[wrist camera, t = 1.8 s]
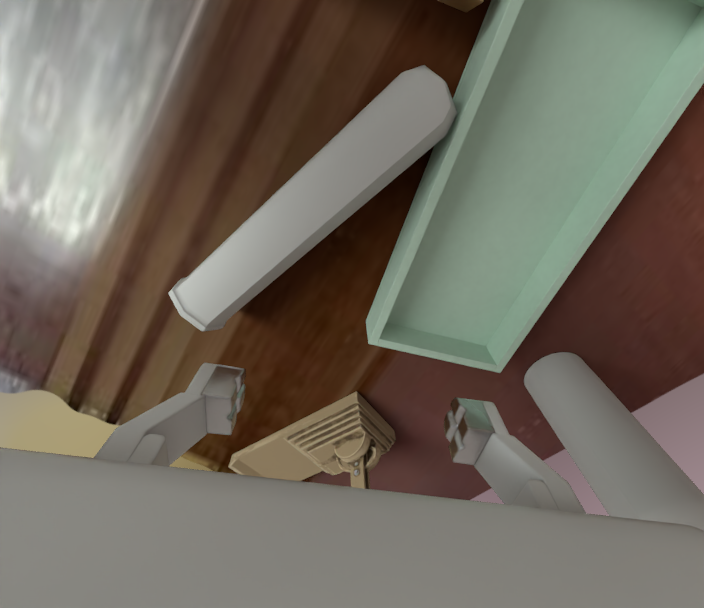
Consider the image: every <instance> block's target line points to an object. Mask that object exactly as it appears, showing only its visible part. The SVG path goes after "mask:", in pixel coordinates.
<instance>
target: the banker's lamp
mask: <svg viewBox="0 0 704 608" xmlns="http://www.w3.org/2000/svg"><path fill="white" fill-rule="evenodd" d="M395 441H396V438H395V432H394V430H393V429H392V428H391V426H390V425H389V424H388V423H387V422H386V421H385V420H384V419H383V418H382V417H381V416H380V415H379V414H378V413H377V412H376V411H375V410H374V409H373V408H372V407H371V406H370V405H369V403H368V402H367V401H366V400H365V399H364V398H363V397H362V396H361V395H360V394H359V393H358V392H357V391H356V392H354V393H352V394H350V395H348V396H346V397H344V398H342V399H341V400H339V401H337V402H335V403H333V404H331V405H329V406H327V407H325V408H323V409H321V410H319V411H317V412H315V413H313V414H311V415H309V416H307V417H305V418H303V419H301V420H299V421H297V422H295V423H293V424H291V425H289V426H287V427H285V428H284V429H282V430H280V431H278V432H276V433H274V434H272V435H270V436H268V437H266V438H264V439H262V440H260V441H258V442H256V443H254V444H252V445H250V446H248V447H246V448H244V449H242V450H240V451H238V452H236V453H234V454H232V457H231V461H230V464H229V468H230V469H232V470H233V471H235V472H236V473H238V474H240V475H248V476H257V477H266V478H275V479H284V480H293V481H301V480H303V479H306V478H308V477H310V476H312V475H315V474H317V473H319V472H321V471H324V472H327V473H330V474H331V475H336V474H339V473H341V472H343V471H345V472H351V487H355V488H364V489H370V480H369V471H370V470H372V469H373V468H374V467H375V466H376V464H377V463H378V461H379V459H380V456H381V455H382V454H384V453H387V451H389V450H390V449H389V448H390V447H391V445H392V444H394V442H395ZM350 468H351V469H350Z"/></svg>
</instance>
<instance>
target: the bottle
mask: <svg viewBox="0 0 704 608" xmlns="http://www.w3.org/2000/svg"><path fill="white" fill-rule="evenodd" d="M524 384H525V387H526V388H527V390H528V391H529V393H530V394H531V396H532V398H533V399H534V401H535V402H536V404H537V406H538V407H539V409H540V410H541V412H542V413H543V415H544V416H545V418H546V419H547V421H548V422H549V424H550V425H551V427H552V429H553V430H554V432H555V433H556V435H557V436H558V438H559V439H560V441H561V442H562V444H563V445H564V447H565V448H566V450H567V451H568V453H569V455H570V456H571V458H572V459H573V461H574V462H575V464H576V465H577V467H578V468H579V470H580V471H581V473H582V474H583V476H584V477H585V479H586V480H587V482H588V484H589V485H590V487H591V488H592V490H593V491H594V493H595V494H596V496H597V497H598V499H599V500H600V502H601V504H602V505H603V507H604V508H605V510H606V511H607V513H608V514H609V516H613V517H622V518H631V519H639V520H648V521H657V522H667V523H677V524H684V525H690V526H693V527H697V528H699V529H701V530H703V531H704V494H703V493H702V492H701V491H700V490H699V489H698V487H697V486H696V485H695V484H694V483H693V482H692V481H691V480H690V479H689V477H688V476H687V475H686V474H685V473H684V472H683V471H682V470H681V469H680V468H679V466H678V465H677V464H676V463H675V462H674V461H673V460H672V459H671V458H670V456H669V455H668V454H667V453H666V452H665V451H664V450H663V449H662V448H661V446H660V445H659V444H658V443H657V442H656V441H655V440H654V438H652V436H651V435H650V434H649V433H648V432H647V431H646V430H645V428H644V427H643V426H642V425H641V424H640V423H639V422H638V421H637V420H636V419H635V417H634V416H633V415H632V414H631V413H630V412H629V411H628V409H627V408H626V407H625V406H624V405H623V404H622V403H621V402H620V401H619V399H618V398H617V397H616V396H615V395H614V394H613V393H612V392H611V391H610V389H609V388H608V387H607V386H606V385H605V384H604V383H603V382H602V381H601V379H600V378H599V377H598V376H597V375H596V374H595V373H594V372H593V371H592V370H591V369H590V368H589V367H588V366H587V365H586V364H585V362H584V361H583V360H582V359H581V358H580V357H579V356H577V355H576V354H573V353H569V352H559V353H553V354H550V355H548V356H545V357H543V358H541V359H540V360H538V361H536V362H535V363H534V364H533V365H532V366H531V367H530V368H529V369H528V371H527V373H526V374H525V377H524Z"/></svg>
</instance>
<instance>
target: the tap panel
mask: <svg viewBox="0 0 704 608" xmlns="http://www.w3.org/2000/svg"><path fill="white" fill-rule="evenodd" d="M437 1H440V2H442V3H444V4H447V5H449V6H451V7H454V8H456V9H458V10H461V11H463V12H465V13H467V12H468V11H470V10H471V9H473V8H475V7H476V6H478V5H479V4H481V3H483V1H484V0H437Z"/></svg>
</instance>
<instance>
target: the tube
mask: <svg viewBox="0 0 704 608" xmlns="http://www.w3.org/2000/svg"><path fill="white" fill-rule="evenodd" d="M457 114H458V113H457V110H456V107H455V105H454V102H453V99H452V97H451V94H450V91H449V88H448V86H447V84H446V82H445V81H444V80H443V79H442V78H441V77H439V76H438V75H437V74H435V73H434V72H433V71H432V70H430V69H429V68H428V67H426V66H425V65H422V66H419V67H416V68H414V69H411V70H407V71H405V72H402V73H401V74H400V75H399V76H398V77H397V78H395V79H394V80H393V81H392V82H391V83H390V84H389V85H388V86H387V87H386V88H385V89H384V90H383V91H382V92H381V93H380V94H379V95H378V96H377V97H376V98H374V99H373V100H372V101H371V102H370V103H369V104H368V105H367V106H366V107H365V108H364V109H363V110H362V111H361V112H360V113H359V114H358V115H357V116H356V117H355V118H353V119H352V120H351V121H350V122H349V123H348V124H347V125H346V126H345V127H344V128H343V129H342V130H341V131H340V132H339V133H338V134H337V135H336V136H335V137H334V138H332V139H331V140H330V141H329V142H328V143H327V144H326V145H325V146H324V147H323V148H322V149H321V150H320V151H319V152H318V153H317V154H316V155H315V156H314V157H313V158H312V159H310V160H309V161H308V162H307V163H306V164H305V165H304V166H303V167H302V168H301V169H300V170H299V171H298V172H297V173H296V174H295V175H294V176H293V177H292V178H291V179H289V180H288V181H287V182H286V183H285V184H284V185H283V186H282V187H281V188H280V189H279V190H278V191H277V192H276V193H275V194H274V195H273V196H272V197H271V198H270V199H268V200H267V201H266V202H265V203H264V204H263V205H262V206H261V207H260V208H259V209H258V210H257V211H256V212H255V213H254V214H253V215H252V216H251V217H250V218H249V219H247V220H246V221H245V222H244V223H243V224H242V225H241V226H240V227H239V228H238V229H237V230H236V231H235V232H234V233H233V234H232V235H231V236H230V237H229V238H228V239H227V240H225V241H224V242H223V243H222V244H221V245H220V246H219V247H218V248H217V249H216V250H215V251H214V252H213V253H212V254H211V255H210V256H209V257H208V258H207V259H206V260H204V261H203V262H202V263H201V264H200V265H199V266H198V267H197V268H196V269H195V270H194V271H193V272H192V273H191V274H190V275H189V276H188V277H186V278H181V279H180V280H179V281H178V282H177V284H176V285H175V286H174V287H173V288H172V289H171V291H170V292H169V293H168V294H169V296H170V297H171V299H172V301H173V303H174V305H175V307H176V309H177V310H178V312H179V314H180V316H182V317H183V318H184V319H186V320H187V321H188V322H190V323H191V324H193V325H194V326H195V327H197V328H198V329H199V330H201V331H209V330H217V329H221V328H223V327H224V325H225V323H226V321H227V320H228V319H229V318H230V317H231V316H232V315H234V314H235V313H236V312H237V311H238V310H240V309H241V308H242V307H243V306H244V305H246V304H247V303H248V302H249V301H250V300H251V299H253V298H254V297H255V296H256V295H257V294H259V293H260V292H261V291H262V290H263V289H265V288H266V287H267V286H268V285H269V284H270V283H272V282H273V281H274V280H275V279H276V278H278V277H279V276H280V275H281V274H282V273H284V272H285V271H286V270H287V269H288V268H289V267H291V266H292V265H293V264H294V263H295V262H297V261H298V260H299V259H300V258H301V257H303V256H304V255H305V254H306V253H307V252H308V251H310V250H311V249H312V248H313V247H314V246H316V245H317V244H318V243H319V242H320V241H321V240H323V239H324V238H325V237H326V236H327V235H329V234H330V233H331V232H332V231H333V230H335V229H336V228H337V227H338V226H339V225H340V224H342V223H343V222H344V221H345V220H346V219H348V218H349V217H350V216H351V215H352V214H354V213H355V212H356V211H357V210H358V209H359V208H361V207H362V206H363V205H364V204H365V203H367V202H368V201H369V200H370V199H371V198H373V197H374V196H375V195H376V194H377V193H378V192H380V191H381V190H382V189H383V188H384V187H386V186H387V185H388V184H389V183H390V182H392V181H393V180H394V179H395V178H396V177H397V176H399V175H400V174H401V173H402V172H403V171H405V170H406V169H407V168H408V167H409V166H411V165H412V164H413V163H414V162H415V161H416V160H418V159H419V158H420V157H421V156H422V155H424V154H425V153H426V152H427V151H428V150H430V149H431V148H432V147H433V146H434V145H435V144H437V143H438V142H439V141H440V140H441V139H443V138H444V137H445V136H446V135H447V133H448V131H449V129H450V127H451V125H452V123H453V121H454V119H455V117H456V116H457Z"/></svg>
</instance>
